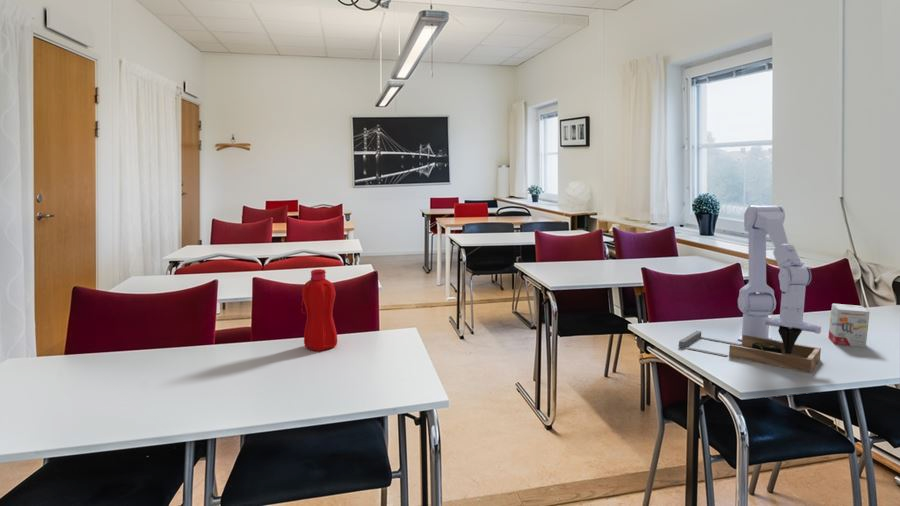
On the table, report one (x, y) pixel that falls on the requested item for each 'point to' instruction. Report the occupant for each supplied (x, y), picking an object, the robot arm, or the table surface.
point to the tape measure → (766, 347)
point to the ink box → (848, 325)
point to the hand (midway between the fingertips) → (788, 352)
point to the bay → (697, 335)
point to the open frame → (777, 354)
